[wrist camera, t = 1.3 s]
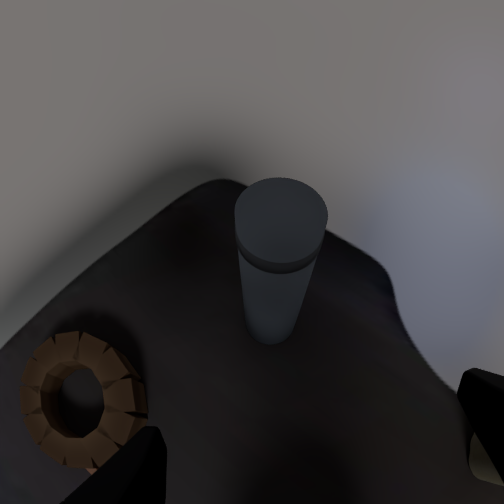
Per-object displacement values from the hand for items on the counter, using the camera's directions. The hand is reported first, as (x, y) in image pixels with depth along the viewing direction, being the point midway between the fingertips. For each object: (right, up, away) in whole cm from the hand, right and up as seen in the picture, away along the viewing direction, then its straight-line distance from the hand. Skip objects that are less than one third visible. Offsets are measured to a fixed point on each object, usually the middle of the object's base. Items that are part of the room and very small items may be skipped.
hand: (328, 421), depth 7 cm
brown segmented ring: (-14, -7, +12) cm, 20 cm away
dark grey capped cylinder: (-1, -1, +15) cm, 15 cm away
